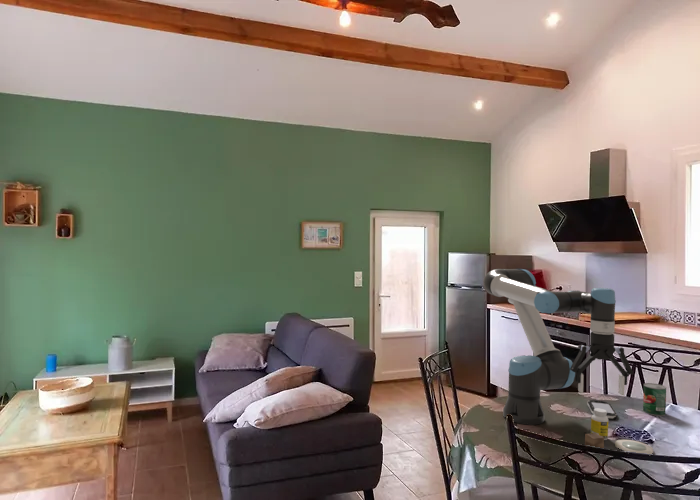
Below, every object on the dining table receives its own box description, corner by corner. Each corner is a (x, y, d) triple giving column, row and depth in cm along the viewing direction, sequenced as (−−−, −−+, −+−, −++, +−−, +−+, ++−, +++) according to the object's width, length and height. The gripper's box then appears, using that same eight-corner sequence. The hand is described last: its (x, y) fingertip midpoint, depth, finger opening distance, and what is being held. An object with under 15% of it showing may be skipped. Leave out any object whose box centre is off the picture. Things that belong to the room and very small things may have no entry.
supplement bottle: (601, 441, 169) (602, 413, 169) (587, 436, 174) (588, 408, 173) (611, 439, 171) (612, 411, 171) (597, 433, 176) (598, 406, 176)
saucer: (623, 454, 159) (623, 451, 159) (609, 440, 170) (609, 438, 170) (660, 456, 158) (660, 453, 158) (643, 442, 169) (643, 440, 169)
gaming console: (585, 404, 211) (585, 398, 211) (609, 406, 208) (609, 400, 208) (593, 419, 192) (593, 412, 192) (619, 422, 189) (619, 415, 189)
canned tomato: (638, 411, 201) (639, 384, 201) (649, 408, 205) (650, 382, 205) (659, 417, 194) (659, 389, 194) (669, 414, 198) (670, 387, 198)
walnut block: (593, 450, 162) (593, 438, 162) (584, 445, 166) (585, 433, 165) (603, 449, 163) (604, 437, 163) (594, 444, 166) (595, 433, 166)
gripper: (568, 333, 169) (567, 394, 170) (645, 335, 167) (643, 398, 167) (561, 329, 177) (560, 388, 177) (634, 331, 174) (633, 391, 175)
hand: (600, 393), depth 172 cm, fingers open, 13 cm apart
